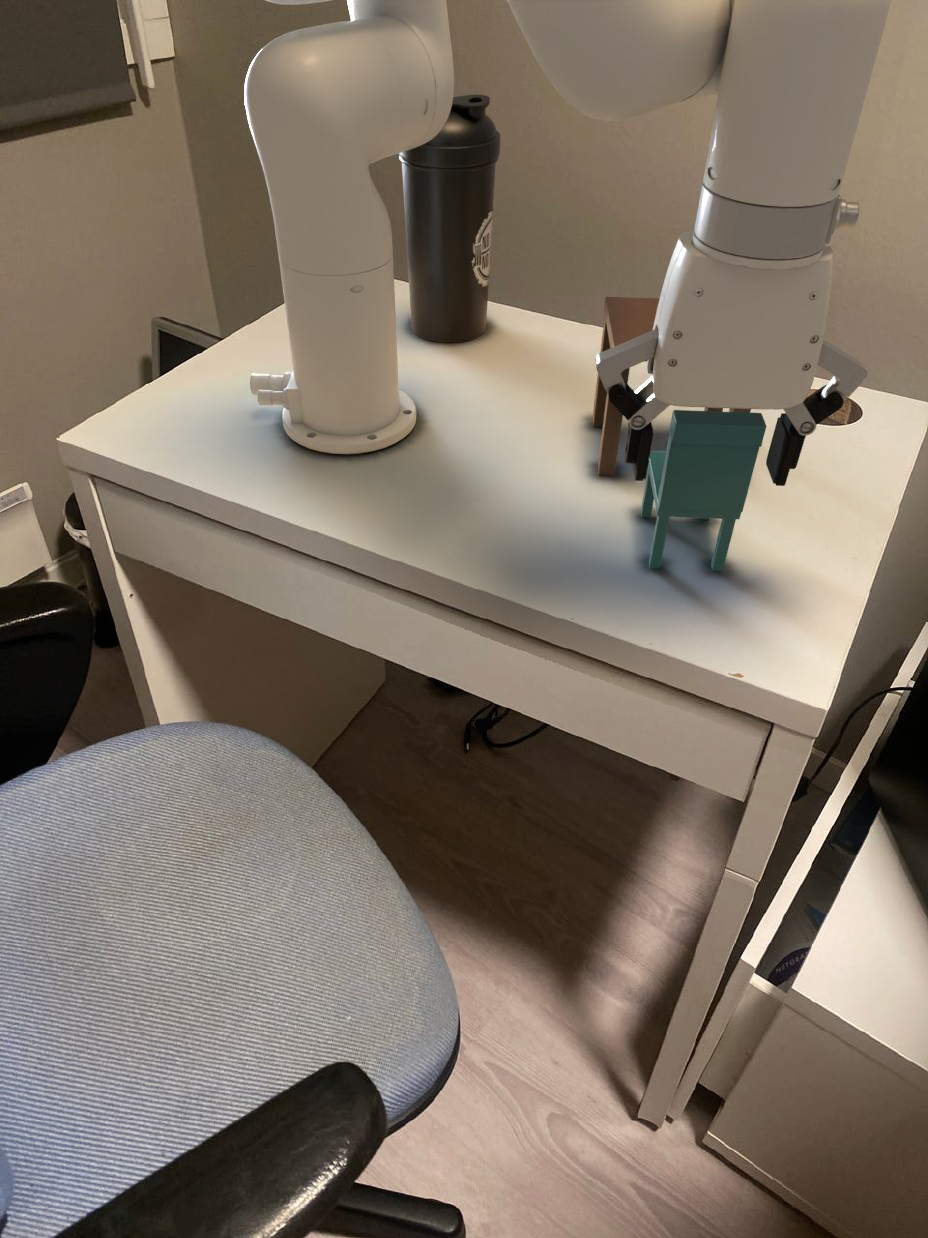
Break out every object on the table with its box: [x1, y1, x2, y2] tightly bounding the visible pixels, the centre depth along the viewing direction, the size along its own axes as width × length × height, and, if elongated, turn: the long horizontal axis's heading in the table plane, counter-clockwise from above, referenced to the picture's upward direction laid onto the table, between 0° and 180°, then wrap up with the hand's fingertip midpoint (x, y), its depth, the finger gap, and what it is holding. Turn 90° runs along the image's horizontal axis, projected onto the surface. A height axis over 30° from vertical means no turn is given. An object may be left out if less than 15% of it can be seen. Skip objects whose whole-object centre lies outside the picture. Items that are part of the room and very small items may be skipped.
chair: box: [640, 409, 767, 572], centre depth 67 cm, size 8×6×13 cm
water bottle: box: [397, 94, 501, 344], centre depth 94 cm, size 10×10×23 cm
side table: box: [592, 296, 752, 477], centre depth 78 cm, size 12×10×12 cm
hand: (706, 472), depth 63 cm, fingers open, 9 cm apart
